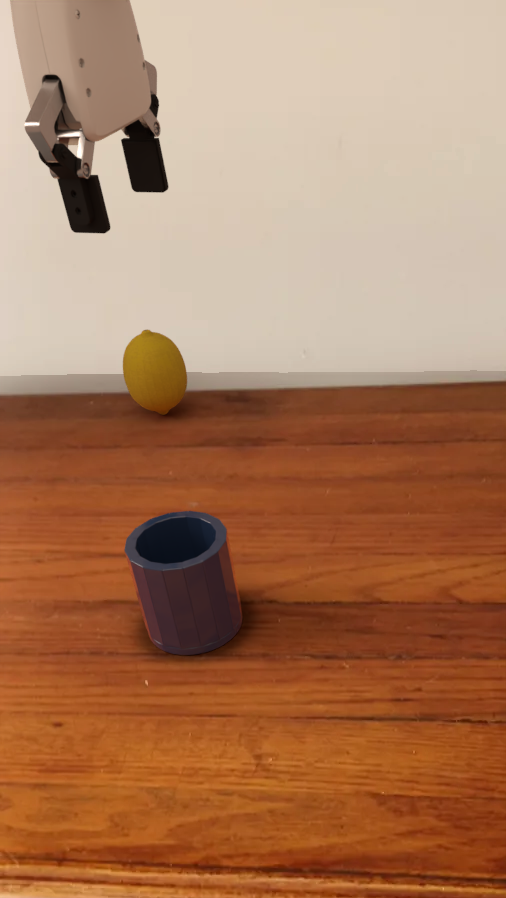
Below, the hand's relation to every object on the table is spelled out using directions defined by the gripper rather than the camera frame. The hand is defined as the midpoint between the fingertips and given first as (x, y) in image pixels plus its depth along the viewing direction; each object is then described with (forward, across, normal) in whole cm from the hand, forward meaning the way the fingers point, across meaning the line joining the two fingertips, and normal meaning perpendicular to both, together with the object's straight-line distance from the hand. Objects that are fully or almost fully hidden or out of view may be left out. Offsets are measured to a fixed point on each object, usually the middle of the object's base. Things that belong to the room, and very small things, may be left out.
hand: (122, 210), depth 76 cm
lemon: (+18, 0, -1) cm, 18 cm away
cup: (+18, +27, +15) cm, 36 cm away
